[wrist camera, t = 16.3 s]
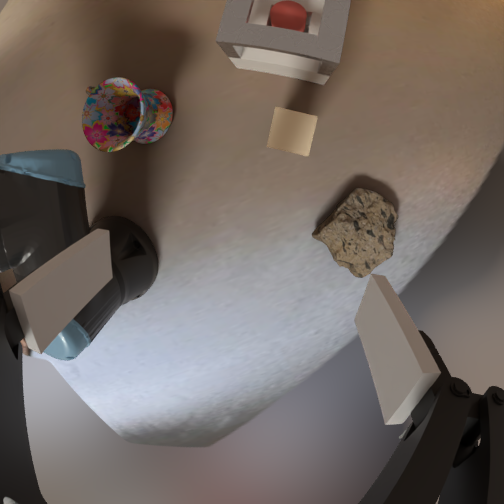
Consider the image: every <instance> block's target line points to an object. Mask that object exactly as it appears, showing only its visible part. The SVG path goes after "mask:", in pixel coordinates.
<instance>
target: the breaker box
mask: <svg viewBox="0 0 504 504" xmlns="http://www.w3.org/2000/svg"><path fill="white" fill-rule="evenodd" d="M280 1H286V0H254V3H253V7H252V10H251V14H250V18H249V22H248V23H251V24H259V25H266V26H272V24H271V18H270V10H271V8H272V7H273V5H275V4H276V3H278V2H280ZM289 1H294V2H297V3H299V4H300V5H302V6H303V7H304V9H305V10H306V13H307V18H306V24H305V30H304V32H305V33H309V34H314V35H318V32H319V27H320V22H321V17H322V12H323V7H324V2H325V0H289ZM229 58H230V60H231V61H232V62H233V63H234V65H235V66H236V67H237V68H241V69H248V70H254V71H260V72H266V73H272V74H277V75H282V76H287V77H292V78H296V79H301V80H305V81H309V82H313V83H317V84H321V85H324V84H325V83H326V81H327V80H328V78H329V76H326V75H322V74H318V73H317V72H318V67H319V63H320V61H317V60H313V59H309V58H305V57H301V56H296V55H291V54H286V53H281V52H275V51H270V50H264V49H257V48H250V47H243V52H242V56H241V59H239V58H231V57H229Z"/></svg>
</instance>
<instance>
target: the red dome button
mask: <svg viewBox="0 0 504 504" xmlns="http://www.w3.org/2000/svg"><path fill="white" fill-rule="evenodd" d="M270 18H271V24H272V26H273V27H279V28H285V29H290V30H295V31H300V32H304V30H305V24H306V18H307V13H306V10H305V9H304V7H303V6H302V5H300V4H299V3H297V2H294V1H289V0H286V1H280V2H278V3H276V4H275V5H273V7H272V8H271V10H270Z"/></svg>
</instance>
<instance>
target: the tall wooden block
mask: <svg viewBox="0 0 504 504" xmlns="http://www.w3.org/2000/svg"><path fill="white" fill-rule="evenodd" d="M316 122H317V116H313V115H309V114H305V113H301V112H297V111H293V110H288V109H284V108H279V107H275V111H274V116H273V120H272V125H271V129H270V134H269V139H268V143H267V147H270V148H274V149H279V150H283V151H288V152H292V153H296V154H300V155H304V156H309V152H310V148H311V143H312V139H313V135H314V130H315V126H316Z"/></svg>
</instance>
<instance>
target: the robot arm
mask: <svg viewBox="0 0 504 504" xmlns="http://www.w3.org/2000/svg"><path fill="white" fill-rule="evenodd" d="M84 188H85V184H84V181H83V174H82V167H81V160H80V157H79V156H78V154H76V153H75V152H74V151H71V150H36V151H25V152H17V153H10V154H2V155H0V272H3V271H6V270H8V269H11V268H12V269H13V272H14V275H15V278H16V282H17V283H16V284H15V285H13V286H12V287H11V288H10V289H8V290H7V291H6V292H5V293H3V291H2V288H1V284H0V504H47V502H46V501H45V500H44V498H43V496H42V494H41V492H40V490H39V486H38V482H37V478H36V474H35V470H34V465H33V461H32V456H31V451H30V446H29V440H28V433H27V427H26V418H25V408H24V396H23V376H22V345H21V342H20V341H21V340H22V339H23V338H24V337H25V340H26V342H27V345H28V347H29V348H30V349H32V350H34V351H36V352H38V353H39V354H42V353H43V352H44V353H46V354H48V355H49V356H51V357H54V358H56V359H59V360H72V359H74V358H76V357H77V356H78V355H79V354H80V353H81V352H82V351H83V350H84V349H85V348H86V347H88V346H89V345H90V343H91V342H92V341H93V339H94V338H95V337H96V335H97V334H98V333H99V332H100V330H101V329H102V328H103V327H104V325H105V324H106V323H107V322H108V320H109V319H110V318H111V317H112V315H113V314H114V313H115V312H116V311H117V309H118V308H119V307H120V306H121V305H123V304H125V303H127V302H129V301H131V300H134V299H137V298H139V297H141V296H142V295H143V294H145V293H146V292H147V290H148V289H149V288H150V287H151V286H152V284H153V283H154V281H155V279H156V276H157V271H158V261H157V255H156V252H155V249H154V246H153V244H152V242H151V241H150V239H149V237H148V236H147V235H146V233H145V232H144V231H143V230H142V229H141V228H140V227H139V226H138V225H136V224H135V223H133V222H132V221H130V220H128V219H126V218H122V217H118V216H110V217H106V218H103V219H101V220H99V221H98V222H96V223H94V224H93V225H92V226H91V227H90V228H89V223H88V216H87V209H86V201H85V190H84ZM354 321H355V324H356V327H357V330H358V333H359V336H360V339H361V342H362V345H363V348H364V351H365V354H366V358H367V361H368V364H369V368H370V371H371V374H372V378H373V381H374V385H375V388H376V392H377V395H378V399H379V403H380V406H381V410H382V414H383V418H384V422H385V424H386V425H387V424H388V425H389V424H401V423H403V422H404V421H405V420H406V419H407V417H408V416H409V415H410V414H411V416H412V420H413V422H412V424H411V425H410V426H409V427H408V428H407V429H406V430H405V431H404V432H403V434H402V435H401V436H400V437H399V438H400V439H401V438H402V437H403V438H402V439H401V441H400V443H399V445H398V446H397V448H396V450H395V451H394V453H393V455H392V456H391V458H390V459H389V461H388V463H387V464H386V466H385V467H384V469H383V470H382V472H381V473H380V475H379V476H378V478H377V479H376V480H375V482H374V483H373V485H372V486H371V488H370V489H369V490H368V492H367V493H366V494H365V496H364V497H363V498H362V500H361V501H360V502H359V503H358V504H435V503H436V502H437V499H438V497H439V495H440V497H439V501H438V504H504V391H503V389H501V388H499V387H496V386H491V387H489V388H488V390H487V391H486V392H485V394H484V395H479V394H474V393H472V392H471V389H470V388H469V386H468V385H467V384H466V383H465V382H464V381H463V380H461V379H459V378H456V377H451V375H450V373H449V371H448V369H447V367H446V365H445V364H444V362H443V360H442V358H441V356H440V355H439V353H438V351H437V349H436V348H435V346H434V344H433V342H432V341H431V339H430V338H429V337H428V336H427V335H426V334H425V333H424V332H423V331H419V330H417V328H416V326H415V324H414V323H413V321H412V319H411V317H410V316H409V314H408V312H407V311H406V309H405V307H404V306H403V304H402V303H401V301H400V299H399V298H398V296H397V294H396V293H395V291H394V290H393V288H392V286H391V285H390V283H389V282H388V280H387V279H386V277H385V276H382V275H376V274H371V276H370V279H369V282H368V284H367V287H366V290H365V293H364V296H363V298H362V301H361V304H360V307H359V309H358V312H357V314H356V317H355V320H354ZM480 438H481V441H480V444H479V446H478V440H479V439H480Z"/></svg>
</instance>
